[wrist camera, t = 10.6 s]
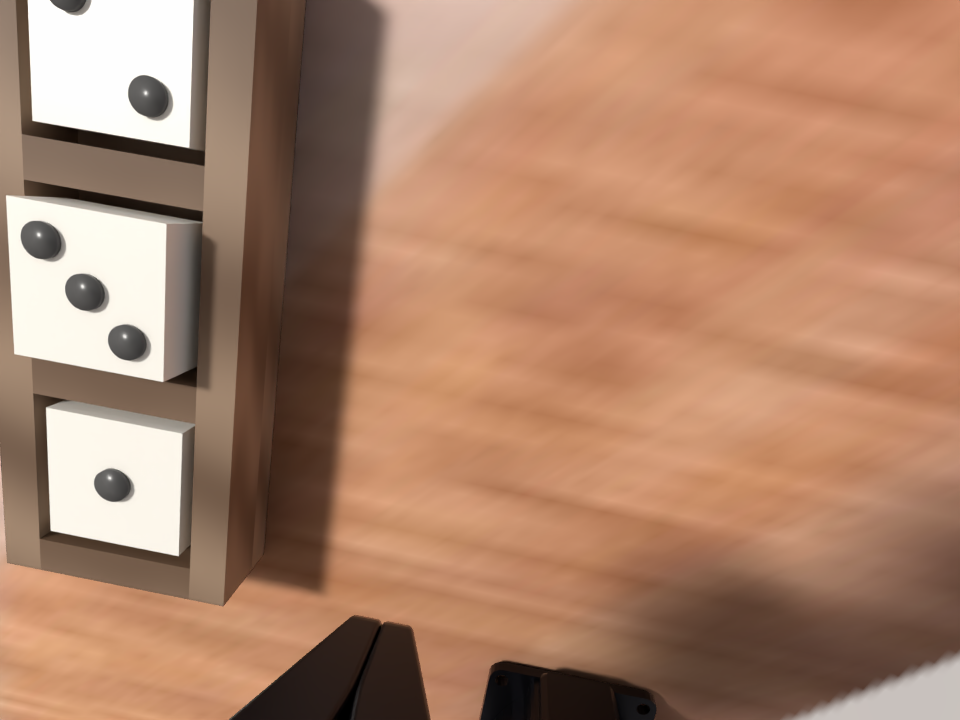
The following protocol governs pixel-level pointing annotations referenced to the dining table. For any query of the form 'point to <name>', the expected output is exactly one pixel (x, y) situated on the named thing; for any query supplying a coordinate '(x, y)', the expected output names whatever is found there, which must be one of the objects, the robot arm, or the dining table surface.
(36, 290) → the tile three
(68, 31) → the tile two
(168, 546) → the tile one
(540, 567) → the dining table surface
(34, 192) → the button board
